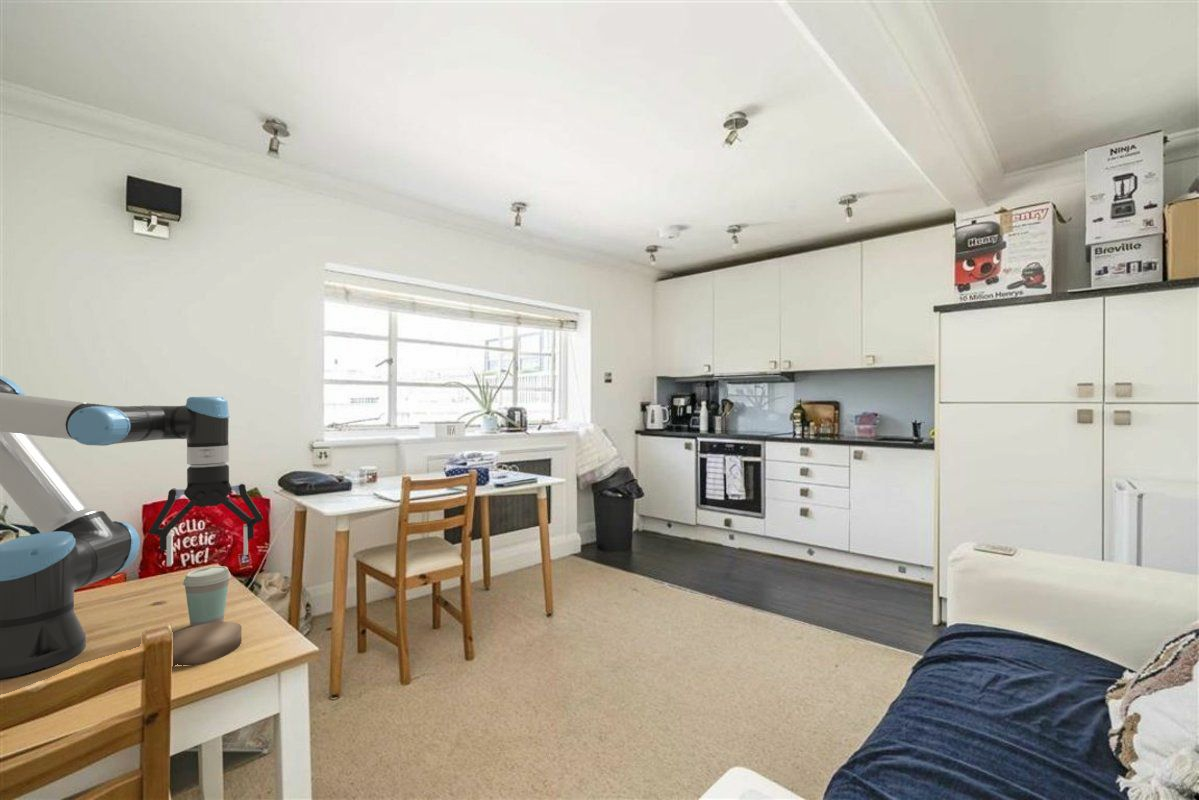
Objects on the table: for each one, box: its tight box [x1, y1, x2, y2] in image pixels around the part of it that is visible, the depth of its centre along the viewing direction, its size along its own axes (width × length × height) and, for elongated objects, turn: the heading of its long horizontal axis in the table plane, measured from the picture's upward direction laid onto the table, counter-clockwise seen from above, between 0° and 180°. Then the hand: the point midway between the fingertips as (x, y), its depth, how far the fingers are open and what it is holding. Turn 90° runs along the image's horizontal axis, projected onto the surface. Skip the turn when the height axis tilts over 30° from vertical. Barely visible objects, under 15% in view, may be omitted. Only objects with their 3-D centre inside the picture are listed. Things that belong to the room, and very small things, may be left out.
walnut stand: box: [172, 621, 243, 668], centre depth 103 cm, size 13×13×3 cm
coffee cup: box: [182, 565, 232, 627], centre depth 115 cm, size 8×9×12 cm
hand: (209, 559), depth 115 cm, fingers open, 13 cm apart
